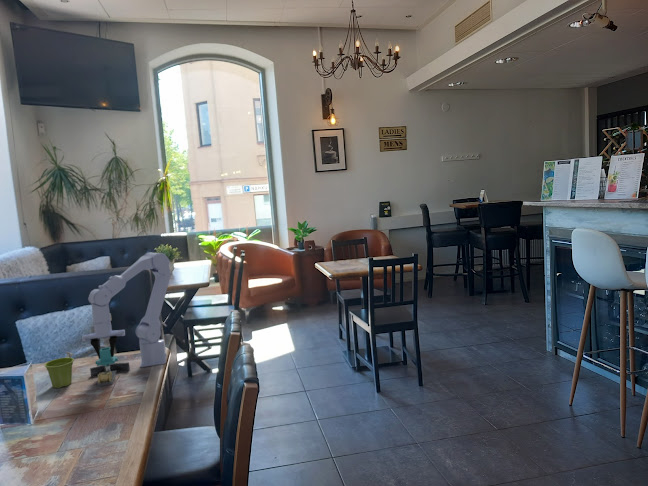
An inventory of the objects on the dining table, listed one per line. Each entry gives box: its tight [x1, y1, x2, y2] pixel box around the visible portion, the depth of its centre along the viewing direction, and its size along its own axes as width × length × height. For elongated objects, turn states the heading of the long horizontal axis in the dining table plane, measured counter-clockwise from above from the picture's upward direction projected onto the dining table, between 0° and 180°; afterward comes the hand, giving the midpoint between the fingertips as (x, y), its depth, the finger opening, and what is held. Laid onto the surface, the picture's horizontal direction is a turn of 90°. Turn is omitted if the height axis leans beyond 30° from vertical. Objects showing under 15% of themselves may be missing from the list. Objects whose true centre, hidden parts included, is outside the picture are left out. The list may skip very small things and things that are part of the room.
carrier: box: [89, 361, 131, 387], centre depth 181 cm, size 14×15×5 cm
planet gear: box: [94, 346, 119, 367], centre depth 182 cm, size 8×8×5 cm
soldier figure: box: [64, 351, 75, 358], centre depth 199 cm, size 8×5×12 cm
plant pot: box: [44, 356, 74, 389], centre depth 177 cm, size 9×9×9 cm
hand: (106, 357), depth 182 cm, fingers closed on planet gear, 4 cm apart
